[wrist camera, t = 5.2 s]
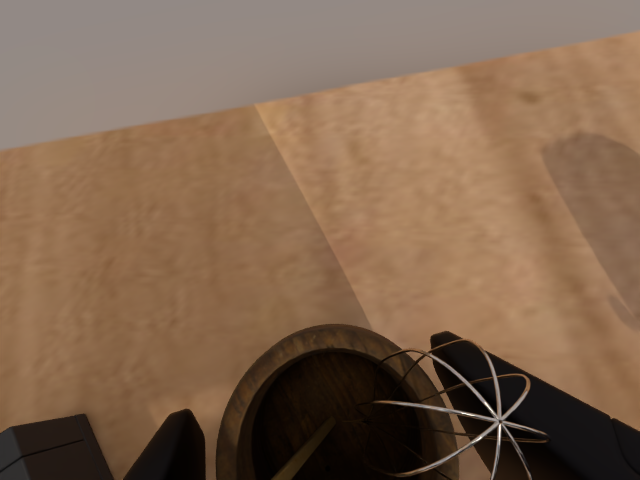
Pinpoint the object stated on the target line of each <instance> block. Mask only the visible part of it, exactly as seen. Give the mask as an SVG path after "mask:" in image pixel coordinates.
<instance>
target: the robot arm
mask: <svg viewBox="0 0 640 480" xmlns="http://www.w3.org/2000/svg"><path fill="white" fill-rule="evenodd" d="M460 339H463V338H461V337H459V336H457V335H455V334H453V333H451V332H449V331H444V332H441V333H437V334H434V335H432V336H431V339H430V343H431V350H432V349H434V348H436V347H438V346H441V345H444V344H446V343H449V342H452V341H455V340H460ZM485 352H486V353H487V354H488V356H489V358H490V360H491V362H492V364H493V367H494V369H495V373H496V376H501V375H507V374H523V375H525V376H526V377H527V378H529V380H530V389H529V392H528V394H527V396H526V397H525V399H524V400H523V401H522V403H521V404H520V405H519V406H518V407H517V409H516V410H515V411H514V412H513V413H512V414H511V415H510V416H509V417H508V418H507V419H505V420H504V421H507V422H511V423H515V424H519V425H522V426H526V427H529V428H533V429H536V430H539V431H542V432H544V433H546V434H548V435H550V436H551V437H552V441H551V442H547V443H537V442H521V441H515V442H516V443H517V445H518V446H519V448H520V450H521V452H522V453H523V455H524V457H525V459H526V461H527V463H528V466H529V468H530V470H531V473H532V477H533V480H640V431H638V430H636V429H634V428H632V427H630V426H628V425H626V424H625V423H623V422H621V421H619V420H617V419H615V418H613V419H611V418H610V416H609V415H607V414H605V413H603V412H601V411H599V410H598V409H596V408H594V407H592V406H590V405H588V404H586V403H584V402H582V401H580V400H579V399H577V398H575V397H573V396H571V395H569V394H567V393H565V392H563V391H561V390H560V389H558V388H556V387H554V386H552V385H550V384H548V383H546V382H544V381H542V380H541V379H539V378H537V377H535V376H533V375H531V374H529V373H527V372H525V371H523V370H522V369H520V368H518V367H516V366H514V365H512V364H510V363H508V362H506V361H504V360H503V359H501V358H499V357H497V356H495V355H493V354H491V353H489V352H487V351H485ZM432 355H434V356H436V357H437V358H439V359H440V360H442V361H444V362H445V363H446V364H448V365H449V366H450V367H452V368H453V369H454V370H455V371H457V372H458V373H459V374H460V375H461V376H462V377H463V378H464V379H466V380H467V381H468V382H470V381H474V380H478V379H483V378H489V377H493V376H492V373H491V369H490V367H489V364H488V362H487V360H486V358H485V356H484V355H483V353H482V352H481V351H480V350H479V349H478V348H477V347H476V346H475V345H473V344H471V343H469V342H460V343H456V344H453V345H450V346H447V347H444V348H441V349H438V350H436V351H434V352H432ZM433 365H434V368H435V371H436V373H437V375H438V377H439V379H440V381H441V383H442V385H443V387H444V389H448V388H451V387H454V386H456V385H459V384H463V382H462V381H461V380H460V379H459V378H458V377H457V376H456V375H454V374H453V373H452V372H451V371H450V370H448V369H447V368H446V367H444V366H443V365H442V364H440V363H439V362H437V361H435V360H434V359H433ZM497 380H498V385H499V390H500V399H501V415H502V416H503V415H504V414H505V413H506V412H507V411H508V410H509V409H510V408H511V407H512V406H513V405H514V404H515V403H516V402H517V400H518V399H519V398H520V397H521V395H522V394H523V392H524V390H525V388H526V380H525V379H523V378H521V377H510V378H502V379H497ZM471 385H472V386H473V387H474V388H475V390H476V391H477V392H478V393H479V394H480V395H481V396H482V397H483V398H484V400H485V401H486V402H487V403H488V404H489V405H490V407H491V408H492V409H493V411H494V412H495V413H496V415H497V401H496V391H495V386H494V380H489V381H483V382H478V383H473V384H471ZM446 393H447V396H448V398H449V400H450V402H451V404H452V406H453V408H454V410H458V411H463V412H468V413H473V414H478V415H482V416H486V417H491V418H494V417H493V416H492V415H491V413H490V412H489V411H488V409H487V408H486V407H485V406H484V404H483V403H482V402H481V401H480V400H479V399H478V397H477V396H476V395H475V394H474V393H473V392H472V391H471V390H470V389H469V388H468V387H467V386H466V385H465V386H462V387H459V388H456V389H453V390H450V391H447V392H446ZM457 416H458V418H459V420H460V422H461V424H462V426H463V428H464V430H465V432H466V434H474V435H480V434H481V433H483V432H484V431H485V430H487V429H488V428H489V427H490V426H491V425H493V424H494V423H493V422H489V421H485V420H481V419H476V418H471V417H467V416H462V415H457ZM499 423H500V420H499ZM505 427H506V428H507V430H508V431H509V432H510V434H511V435H512V437H513V438H528V439H546V437H543V436H541V435H538V434H535V433H532V432H528V431H525V430H521V429H518V428H514V427H510V426H506V425H505ZM487 436H496V437H497V427H496V428H495V429H494V430H493V431H492V432H491V433H489V434H488V435H487ZM501 437H507V435H506V434H505V432H504V431H503V429H502V433H501ZM475 438H476V437H469V439H470V441H472V440H473V439H475ZM496 443H497V440H495V439H485V438H483V439H482V440H480V441H479V442H478V443H476V444H475V445H473V446H474V447H475V449H476V451H477V452H478V454H479V455H480V457H481V459H482V460H483V462H484V463H485V465H486V466H487V468H488V470H489V471H490V473H491V474H492V470H493V465H494V460H495V453H496ZM123 480H206V464H205V438H204V434H203V431H202V429H201V428H200V426H199V424H198V422H197V420H196V418H195V416H194V415H193V413H192V411H191V410H190V409H184V410H181V411H177V412H174V413H172V414H170V415H169V416H168V417H167V418H166V420H165V421H164V423H163V424H162V425H161V427H160V428H159V430H158V431H157V432H156V434H155V435H154V437H153V438H152V439H151V441H150V442H149V444H148V445H147V446H146V448H145V449H144V451H143V452H142V453H141V455H140V456H139V457H138V459H137V460H136V462H135V463H134V464H133V466H132V467H131V469H130V470H129V471H128V473H127V474H126V476H125V477H124V478H123ZM495 480H529V478H528V475H527V472H526V469H525V467H524V465H523V462H522V460H521V459H520V457H519V455H518V453H517V451H516V449H515V448H514V446H513V445H512V443H511V441H507V440H501V449H500V458H499V464H498V470H497V474H496V478H495Z"/></svg>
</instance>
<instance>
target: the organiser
mask: <svg viewBox="0 0 640 480" xmlns="http://www.w3.org/2000/svg"><path fill="white" fill-rule="evenodd" d="M0 480H113V478H112V476H111V474H110V471H109V469H108V467H107V464H106V462H105V460H104V458H103V455H102V453H101V451H100V448H99V446H98V444H97V441H96V439H95V437H94V434H93V432H92V430H91V428H90V425H89V423H88V421H87V418H86V416H85V414H80V415H74V416H70V417H64V418H58V419H52V420H47V421H41V422H35V423H29V424H24V425H18V426H12V427H9V428H8V429H6V430H5V431H3V432H2V433H0Z"/></svg>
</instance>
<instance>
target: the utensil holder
mask: <svg viewBox="0 0 640 480" xmlns="http://www.w3.org/2000/svg"><path fill="white" fill-rule="evenodd" d="M460 342H469V343H471V344H473V345H475V346H476V347H477V348H478V349H479V350H480V351H481V352H482V353H483V355H484V356H485V358H486V360H487V362H488V364H489V367H490V369H491V373H492V376H493V377H489V378H483V379H478V380H474V381H470V382H468V381H467V380H466V379H464V378H463V377H462V376H461V375H460V374H459V373H458V372H457V371H455V370H454V369H453V368H452V367H450V366H449V365H448V364H446V363H445V362H444V361H442V360H440V359H439V358H437V357H436V356H434V355H432V354H430V353H432V352H434V351H436V350H438V349H441V348H444V347H447V346H450V345H453V344H456V343H460ZM410 351H414V352H418V353H421V354H423V355H422V356H421V357H420V358H419V359H418V360H417V361H416V362H415V361H414V360H413V359H412V358H411V357H410V356H409V355H408V354H406V353H405V352H410ZM425 356H428V357H430V358H432V359H434V360H435V361H437V362H439V363H440V364H442V365H443V366H444V367H446V368H447V369H448V370H450V371H451V372H452V373H453V374H454V375H456V376H457V377H458V378H459V379H460V380H461V381H462V382H463V384H459V385H456V386H454V387H451V388H448V389H445V390H443V391H440V392H438V390H437V389H436V387H435V386H434V384H433V383H432V381H431V380H430V378H429V377H428V376H427V374H426V373H425V372H424V371H423V369H422V368H421V367H420V366H419V365H418V364H417V363H418V362H419V361H420V360H421V359H423V358H424V357H425ZM510 377H521V378H523V379H525V380H526V388H525V390H524V392H523V394H522V395H521V397H520V398H519V399H518V400H517V402H516V403H515V404H514V405H513V406H512V407H511V408H510V409H509V410H508V411H507V412H506V413H505V414H504V415H503V416H502V415H501V399H500V390H499V385H498V380H497V379H502V378H510ZM489 380H494V386H495V391H496V401H497V415H496V413H495V412H494V411H493V409H492V408H491V407H490V405H489V404H488V403H487V402H486V401H485V400H484V398H483V397H482V396H481V395H480V394H479V393H478V392H477V391H476V390H475V388H474V387H473V386H472V385H471V384H473V383H478V382H483V381H489ZM465 385H466V386H467V387H468V388H469V389H470V390H471V391H472V392H473V393H474V394H475V395H476V396H477V397H478V399H479V400H480V401H481V402H482V403H483V404H484V406H485V407H486V408H487V409H488V411H489V412H490V413H491V415H492V416H493V417H494V418H491V417H486V416H482V415H478V414H473V413H468V412H463V411H458V410H453V409H448V408H446V406H445V404H444V402H443V400H442V398H441V396H440V394H442V393H445V392H447V391H450V390H453V389H456V388H459V387H462V386H465ZM529 389H530V380H529V378H527V377H526V376H525V375H523V374H507V375H501V376H496V373H495V369H494V367H493V364H492V362H491V360H490V358H489V356H488V354H487V353H486V352H485V350H484V349H483V348H482V347H481V346H480V345H479V344H478V343H476V342H474V341H473V340H470V339H460V340H455V341H452V342H449V343H446V344H444V345H441V346H438V347H436V348H434V349H432V350H430V351H428V352H425V351H423V350H420V349H415V348H408V349H403V350H402V349H401V348H400V347H398V346H397V345H396V344H394V343H393V342H391V341H390V340H388V339H387V338H385V337H383V336H381V335H379V334H377V333H375V332H372V331H370V330H367V329H364V328H361V327H357V326H352V325H344V324H326V325H319V326H313V327H310V328H306V329H303V330H300V331H298V332H295V333H293V334H291V335H289V336H287V337H286V338H284V339H282V340H281V341H279V342H278V343H276V344H275V345H274V346H273V347H271V348H270V349H269V350H268V351H266V352H265V353H264V354H263V355H262V356H261V357H259V358H258V359H257V360H256V362H255V363H254V364H253V365H252V366H251V367H250V368H249V369H248V371H247V372H246V373H245V375H244V376H243V377H242V379H241V380H240V382H239V383H238V385H237V387H236V388H235V390H234V392H233V394H232V396H231V398H230V400H229V402H228V404H227V407H226V409H225V412H224V415H223V418H222V421H221V425H220V429H219V434H218V440H217V448H216V479H217V480H459V458H458V455H459V454H461V453H463V452H464V451H466V450H468V449H469V448H470V447H472V446H473V445H475V444H476V443H478V442H479V441H480V440H482V439H483V438H485V439H495V440H497V443H496V453H495V460H494V465H493V470H492V474H491V478H490V480H495V478H496V474H497V470H498V464H499V458H500V449H501V440H507V441H511V443H512V445H513V446H514V448H515V449H516V451H517V453H518V455H519V457H520V459H521V460H522V462H523V465H524V467H525V469H526V472H527V475H528V478H529V480H533V477H532V473H531V470H530V468H529V466H528V463H527V461H526V459H525V457H524V455H523V453H522V452H521V450H520V448H519V446H518V445H517V443H516V442H515V441H521V442H537V443H547V442H551V441H552V437H551V436H550V435H548V434H546V433H544V432H542V431H539V430H536V429H533V428H529V427H526V426H522V425H519V424H515V423H511V422H507V421H504V420H505V419H507V418H508V417H509V416H510V415H511V414H512V413H513V412H514V411H515V410H516V409H517V407H518V406H519V405H520V404H521V403H522V401H523V400H524V399H525V397H526V396H527V394H528V392H529ZM449 413H452V414H457V415H462V416H467V417H471V418H476V419H481V420H485V421H489V422H493V423H494V424H493V425H491V426H490V427H489V428H488V429H487V430H485V431H484V432H483V433H481V434H480V435H474V434H466V433H458V432H454V428H453V425H452V422H451V419H450V416H449ZM499 420H500V423H499ZM505 425H506V426H510V427H514V428H518V429H521V430H525V431H528V432H532V433H535V434H538V435H541V436H543V437H546V439H528V438H513V437H512V435H511V434H510V432H509V431H508V430H507V428H506V427H505ZM496 427H497V437H496V436H487V435H488V434H489V433H491V432H492V431H493V430H494V429H495V428H496ZM502 429H503V431H504V432H505V434H506V435H507V437H501V433H502ZM455 435H461V436H468V437H476V438H475V439H473V440H472V441H470V442H469V443H468V444H466V445H465V446H463V447H461V448H460V449H458V448H457V442H456V437H455Z"/></svg>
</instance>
